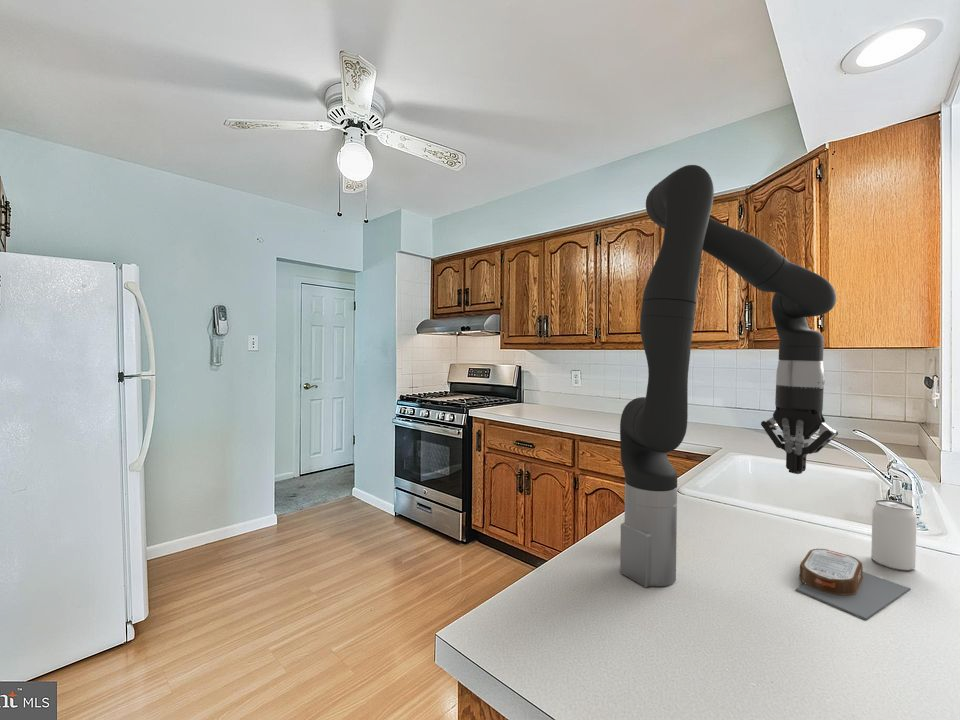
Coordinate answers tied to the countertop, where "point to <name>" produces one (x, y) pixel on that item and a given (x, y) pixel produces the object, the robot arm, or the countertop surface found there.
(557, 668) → the countertop surface
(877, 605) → the mat
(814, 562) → the tin
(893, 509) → the can
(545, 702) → the countertop surface
